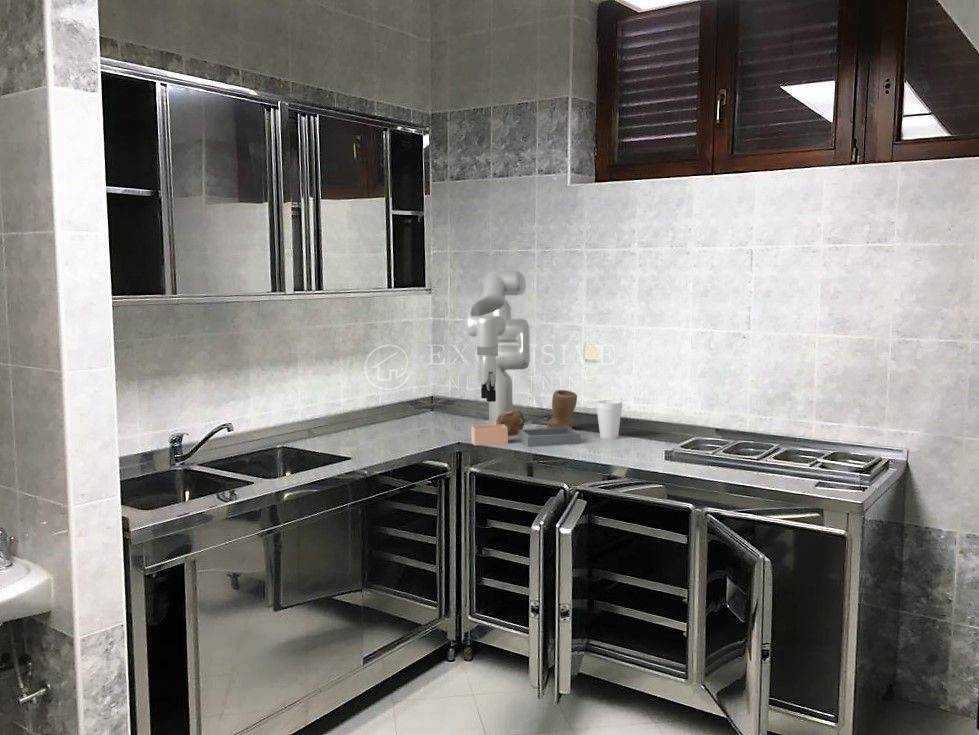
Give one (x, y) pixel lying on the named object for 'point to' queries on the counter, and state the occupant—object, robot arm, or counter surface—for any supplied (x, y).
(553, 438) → the grey tray
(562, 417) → the brown boot
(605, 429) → the foam cup
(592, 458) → the counter surface
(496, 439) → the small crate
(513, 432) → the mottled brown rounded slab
